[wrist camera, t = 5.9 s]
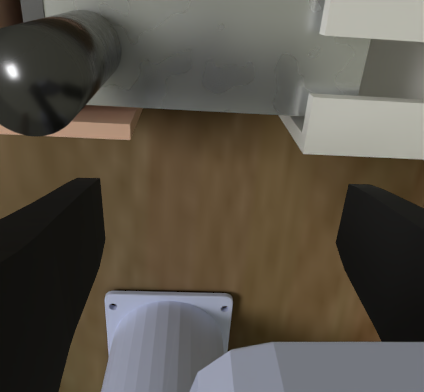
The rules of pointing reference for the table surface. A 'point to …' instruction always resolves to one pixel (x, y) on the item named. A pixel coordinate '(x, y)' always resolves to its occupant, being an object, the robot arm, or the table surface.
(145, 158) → the table surface
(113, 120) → the socket
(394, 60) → the white channel beam
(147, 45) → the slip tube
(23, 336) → the robot arm
